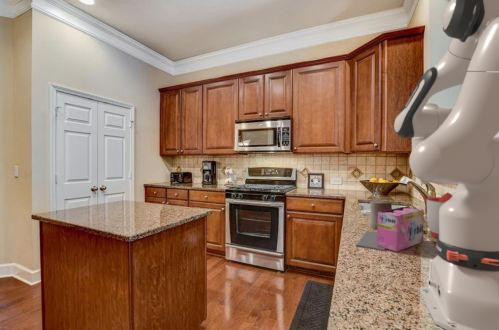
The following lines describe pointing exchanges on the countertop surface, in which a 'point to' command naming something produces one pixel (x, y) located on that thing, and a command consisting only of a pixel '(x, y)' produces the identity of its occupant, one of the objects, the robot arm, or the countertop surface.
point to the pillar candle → (378, 210)
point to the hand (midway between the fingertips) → (425, 183)
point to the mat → (370, 241)
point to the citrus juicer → (435, 212)
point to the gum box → (400, 228)
